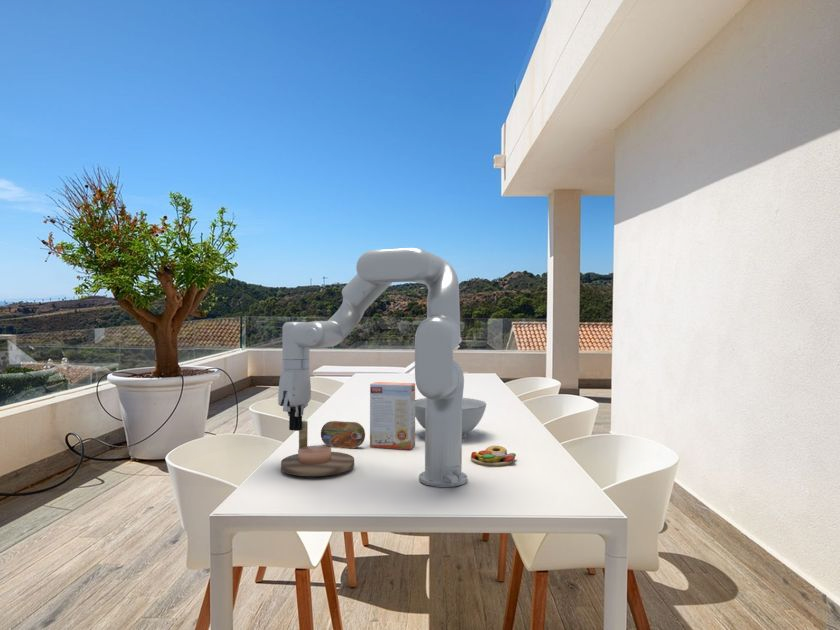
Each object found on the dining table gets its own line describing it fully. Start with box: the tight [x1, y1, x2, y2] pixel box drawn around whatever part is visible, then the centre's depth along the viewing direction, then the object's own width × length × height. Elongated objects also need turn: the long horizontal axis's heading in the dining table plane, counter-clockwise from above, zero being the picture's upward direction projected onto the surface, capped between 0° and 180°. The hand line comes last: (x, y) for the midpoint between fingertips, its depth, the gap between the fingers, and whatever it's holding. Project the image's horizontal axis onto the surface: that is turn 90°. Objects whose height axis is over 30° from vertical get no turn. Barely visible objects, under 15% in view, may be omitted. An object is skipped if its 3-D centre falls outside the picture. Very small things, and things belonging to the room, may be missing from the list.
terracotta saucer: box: [297, 445, 332, 465], centre depth 148 cm, size 9×9×3 cm
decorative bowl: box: [415, 397, 487, 440], centre depth 191 cm, size 27×27×12 cm
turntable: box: [280, 420, 355, 477], centre depth 148 cm, size 20×20×11 cm
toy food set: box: [470, 445, 517, 467], centre depth 158 cm, size 13×13×3 cm
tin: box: [320, 420, 366, 450], centre depth 175 cm, size 15×3×8 cm, turn 72°
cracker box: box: [369, 381, 416, 451], centre depth 175 cm, size 14×6×21 cm, turn 75°
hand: (295, 429), depth 152 cm, fingers closed
